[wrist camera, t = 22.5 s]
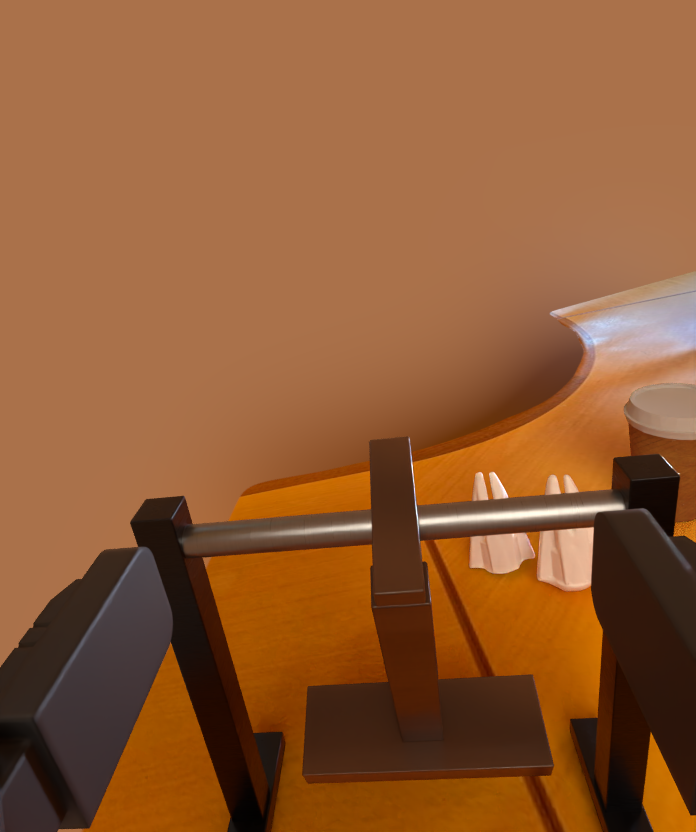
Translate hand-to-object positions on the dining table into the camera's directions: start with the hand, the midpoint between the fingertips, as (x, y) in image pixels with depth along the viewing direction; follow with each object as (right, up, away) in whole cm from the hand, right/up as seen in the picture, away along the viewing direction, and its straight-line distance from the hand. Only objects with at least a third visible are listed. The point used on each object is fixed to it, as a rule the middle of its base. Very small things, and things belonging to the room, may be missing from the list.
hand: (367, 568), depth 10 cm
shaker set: (+17, -12, +42) cm, 47 cm away
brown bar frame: (+4, -15, +26) cm, 30 cm away
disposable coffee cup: (+33, -7, +49) cm, 60 cm away
